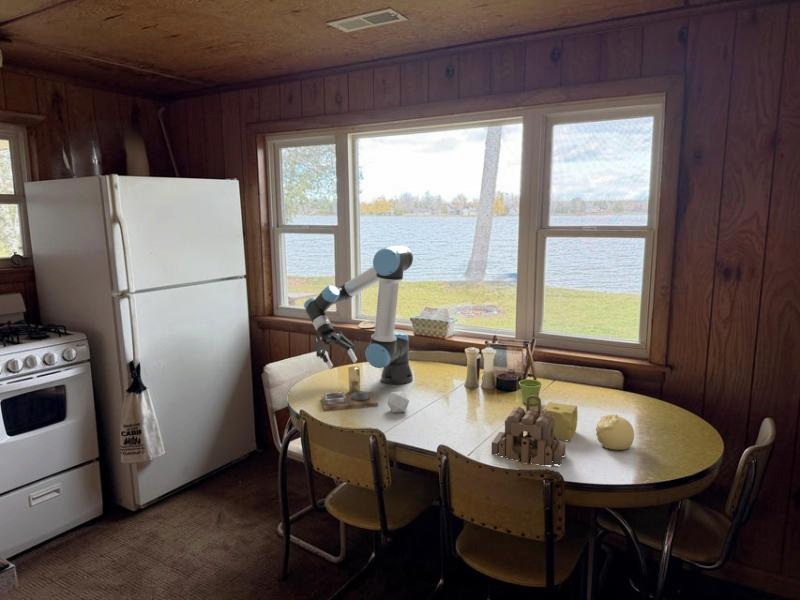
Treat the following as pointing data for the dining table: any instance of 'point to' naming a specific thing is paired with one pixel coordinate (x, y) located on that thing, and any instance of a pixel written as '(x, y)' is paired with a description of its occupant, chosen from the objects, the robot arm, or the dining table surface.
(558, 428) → the cheese
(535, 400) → the plant pot
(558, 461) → the wooden puzzle
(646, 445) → the dining table surface
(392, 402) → the die
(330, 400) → the gear board
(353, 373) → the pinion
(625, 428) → the sculpture
